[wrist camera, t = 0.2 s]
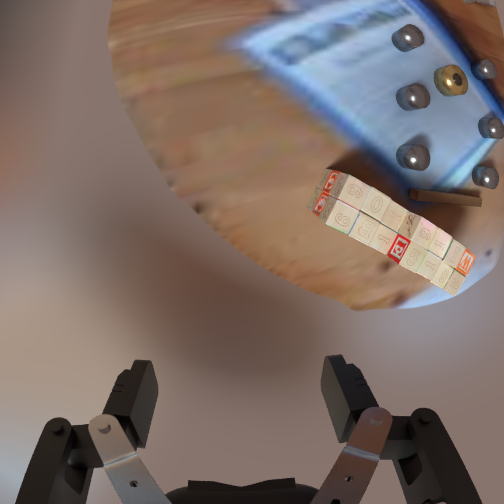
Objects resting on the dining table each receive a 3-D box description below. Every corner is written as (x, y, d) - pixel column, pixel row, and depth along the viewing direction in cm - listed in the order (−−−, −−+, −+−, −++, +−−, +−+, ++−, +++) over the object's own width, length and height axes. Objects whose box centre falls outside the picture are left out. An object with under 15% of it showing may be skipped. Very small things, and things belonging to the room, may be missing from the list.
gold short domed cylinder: (432, 64, 33) (444, 60, 30) (453, 73, 34) (466, 69, 30) (434, 92, 35) (447, 89, 32) (456, 99, 35) (469, 97, 32)
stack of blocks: (305, 207, 40) (332, 230, 28) (325, 167, 38) (361, 174, 27) (412, 265, 44) (456, 298, 32) (430, 232, 42) (478, 257, 31)
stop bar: (409, 188, 40) (418, 190, 37) (473, 195, 40) (482, 198, 38) (408, 197, 40) (417, 200, 38) (472, 203, 41) (481, 206, 39)
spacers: (390, 29, 31) (402, 21, 28) (485, 67, 32) (498, 64, 29) (395, 173, 39) (409, 176, 35) (487, 187, 40) (502, 191, 36)
